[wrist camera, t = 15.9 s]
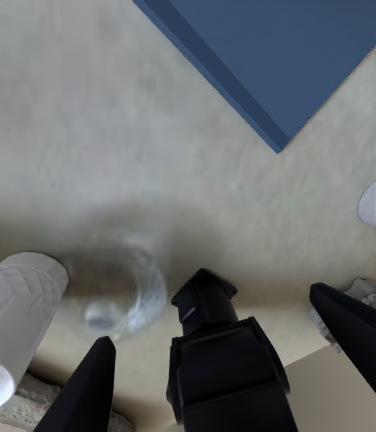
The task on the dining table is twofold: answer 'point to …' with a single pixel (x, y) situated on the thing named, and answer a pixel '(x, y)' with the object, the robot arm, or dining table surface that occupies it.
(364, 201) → the coffee cup
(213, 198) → the dining table surface
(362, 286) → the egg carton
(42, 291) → the white cup
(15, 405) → the elongated rock
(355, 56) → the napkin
